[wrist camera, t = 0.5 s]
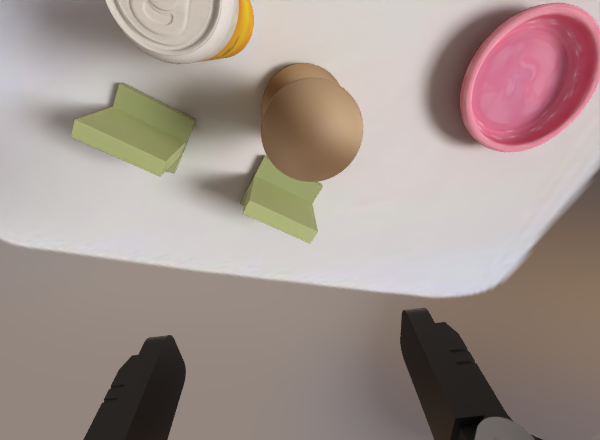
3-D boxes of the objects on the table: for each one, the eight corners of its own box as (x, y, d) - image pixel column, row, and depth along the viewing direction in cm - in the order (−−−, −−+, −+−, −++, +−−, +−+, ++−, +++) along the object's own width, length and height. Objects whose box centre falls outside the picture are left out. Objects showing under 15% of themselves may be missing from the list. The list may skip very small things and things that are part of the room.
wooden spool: (286, 45, 29) (288, 43, 19) (358, 91, 31) (393, 109, 21) (248, 125, 32) (234, 157, 22) (317, 161, 34) (331, 205, 24)
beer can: (174, 37, 28) (79, 27, 15) (194, -42, 25) (100, -140, 12) (240, 69, 29) (207, 86, 16) (265, -3, 27) (249, -52, 14)
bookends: (123, 82, 29) (81, 91, 23) (321, 184, 35) (330, 212, 29) (107, 139, 32) (65, 161, 26) (295, 226, 38) (298, 260, 31)
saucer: (593, 88, 32) (623, 92, 29) (481, 167, 35) (498, 177, 33) (551, -29, 27) (581, -38, 24) (425, 75, 31) (440, 78, 28)
